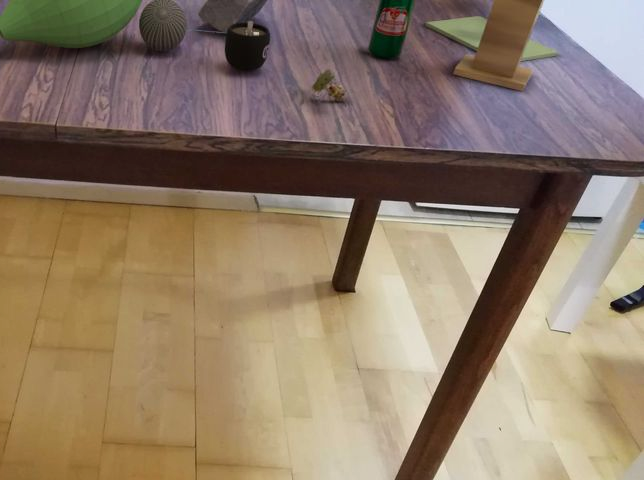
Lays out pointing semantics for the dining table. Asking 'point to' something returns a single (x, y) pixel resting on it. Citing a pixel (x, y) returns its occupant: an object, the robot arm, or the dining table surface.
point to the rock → (229, 12)
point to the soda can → (390, 28)
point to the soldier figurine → (322, 84)
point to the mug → (247, 46)
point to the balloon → (66, 21)
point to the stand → (503, 45)
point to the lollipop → (163, 25)
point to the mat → (471, 33)
